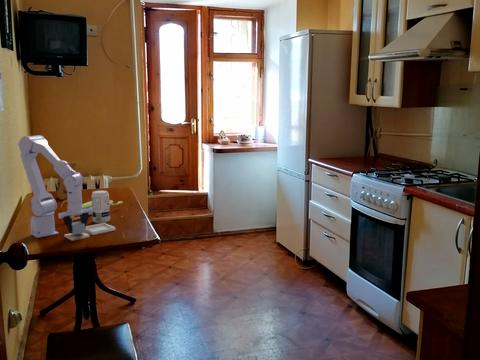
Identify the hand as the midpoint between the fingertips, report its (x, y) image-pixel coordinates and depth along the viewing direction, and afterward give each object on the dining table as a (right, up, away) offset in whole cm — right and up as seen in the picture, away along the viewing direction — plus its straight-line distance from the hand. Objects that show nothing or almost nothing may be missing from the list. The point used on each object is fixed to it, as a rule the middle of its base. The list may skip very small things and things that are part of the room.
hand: (76, 231), depth 200 cm
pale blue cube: (0, 0, 0) cm, 0 cm away
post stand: (0, -2, 0) cm, 2 cm away
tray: (+6, -1, +10) cm, 12 cm away
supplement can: (+3, +2, +26) cm, 26 cm away
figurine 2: (-7, +5, +50) cm, 51 cm away
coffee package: (-34, +11, +82) cm, 90 cm away
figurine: (-13, +2, +27) cm, 30 cm away
